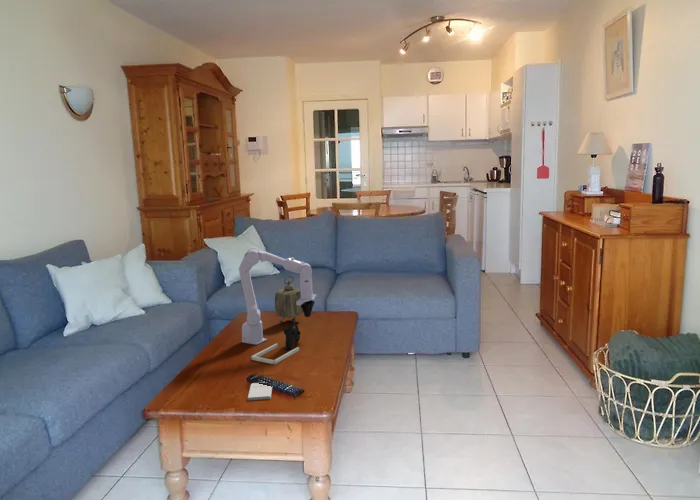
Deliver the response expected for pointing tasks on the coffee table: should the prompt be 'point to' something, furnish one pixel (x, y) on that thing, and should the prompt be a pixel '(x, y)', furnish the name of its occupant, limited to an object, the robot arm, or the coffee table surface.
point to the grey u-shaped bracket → (258, 358)
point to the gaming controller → (291, 335)
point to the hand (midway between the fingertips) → (307, 316)
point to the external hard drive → (259, 392)
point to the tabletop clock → (288, 302)
